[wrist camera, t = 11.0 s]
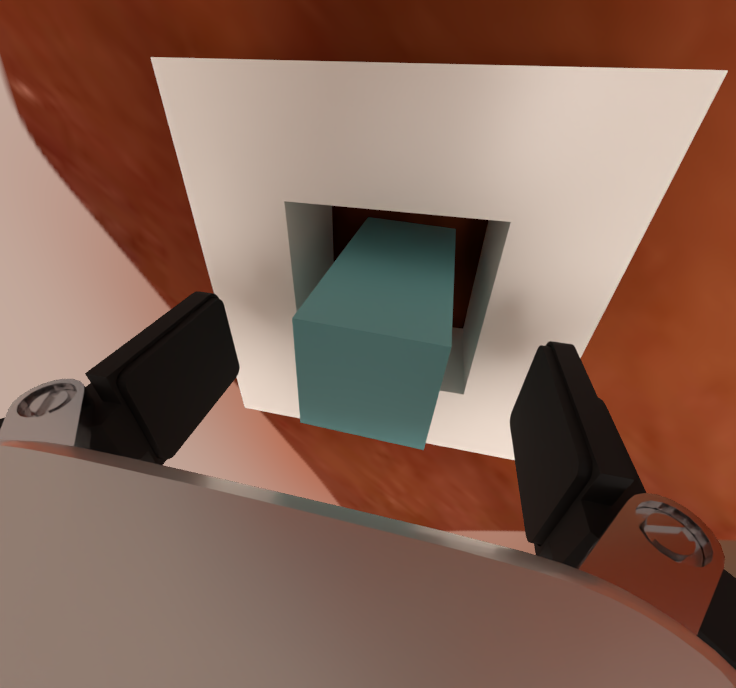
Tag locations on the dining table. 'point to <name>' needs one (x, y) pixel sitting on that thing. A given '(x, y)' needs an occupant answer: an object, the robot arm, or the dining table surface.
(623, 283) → the dining table surface
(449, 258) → the teal post
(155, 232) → the dining table surface
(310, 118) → the well block
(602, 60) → the dining table surface
